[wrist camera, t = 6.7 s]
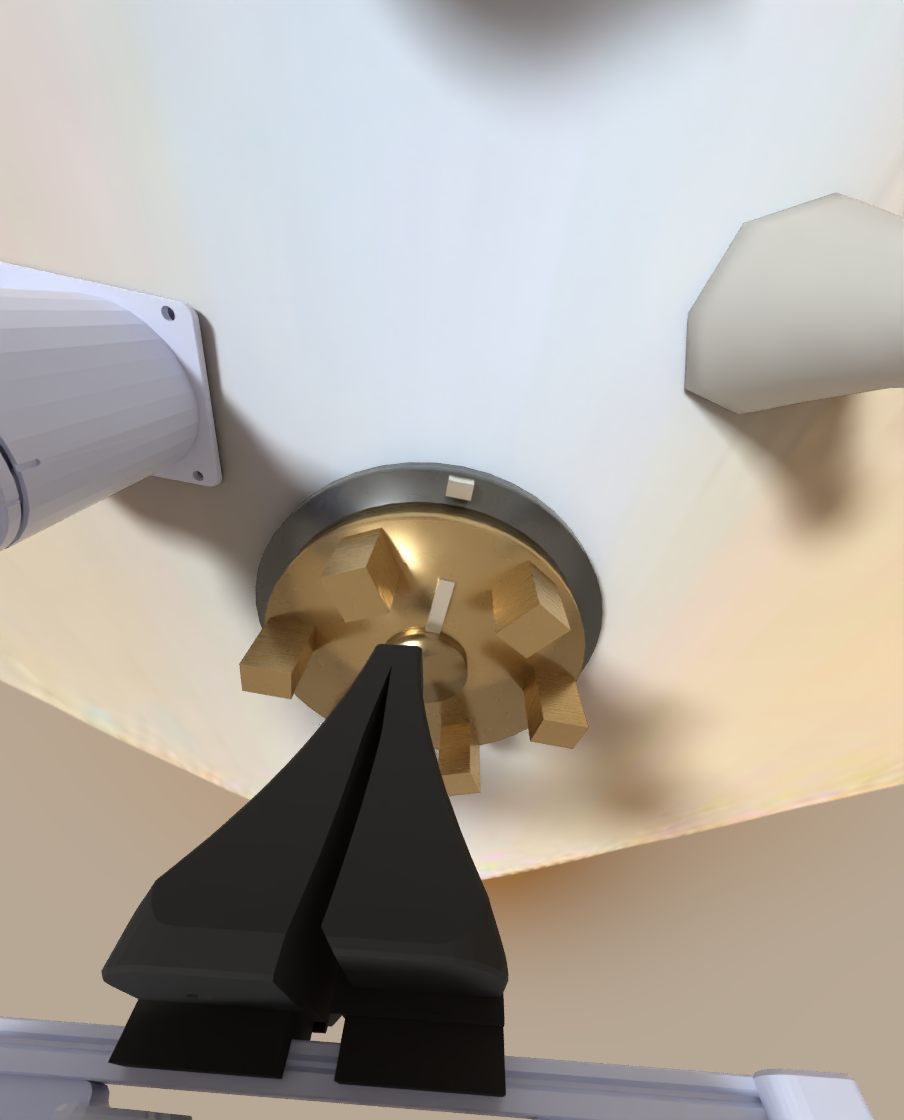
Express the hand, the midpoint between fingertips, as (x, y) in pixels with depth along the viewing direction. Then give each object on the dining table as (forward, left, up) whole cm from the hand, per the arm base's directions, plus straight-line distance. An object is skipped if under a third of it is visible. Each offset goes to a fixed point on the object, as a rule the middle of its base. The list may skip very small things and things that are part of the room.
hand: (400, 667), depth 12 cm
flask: (+12, +12, -11) cm, 20 cm away
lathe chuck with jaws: (+1, -7, -9) cm, 12 cm away
